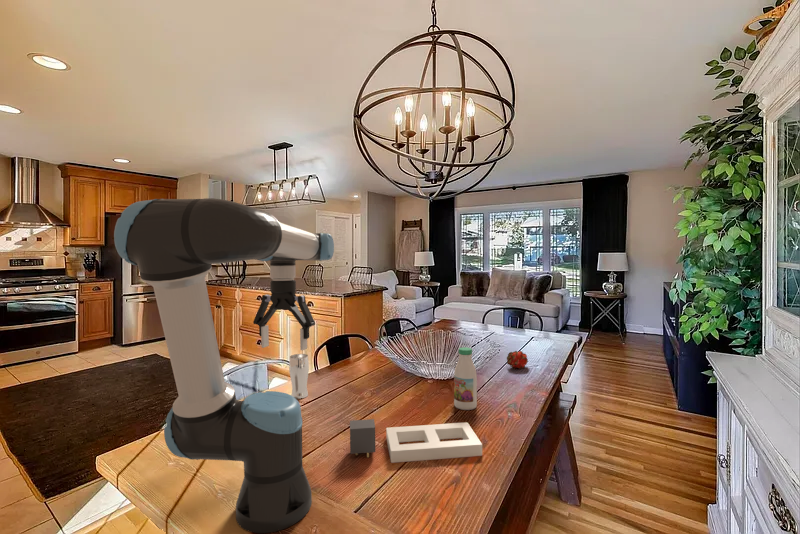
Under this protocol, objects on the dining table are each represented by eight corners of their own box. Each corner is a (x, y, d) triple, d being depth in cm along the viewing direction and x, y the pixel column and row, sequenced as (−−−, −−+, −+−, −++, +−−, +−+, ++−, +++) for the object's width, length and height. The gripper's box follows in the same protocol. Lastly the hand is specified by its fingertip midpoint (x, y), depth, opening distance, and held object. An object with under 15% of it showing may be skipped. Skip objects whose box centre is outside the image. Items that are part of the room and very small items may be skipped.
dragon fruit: (505, 373, 172) (524, 372, 178) (518, 365, 166) (537, 365, 172) (499, 355, 177) (517, 355, 183) (511, 347, 171) (530, 347, 177)
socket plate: (482, 455, 101) (482, 444, 101) (391, 462, 98) (390, 451, 98) (467, 432, 114) (467, 422, 114) (386, 437, 111) (386, 427, 111)
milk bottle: (461, 399, 138) (461, 344, 137) (480, 405, 133) (480, 348, 132) (449, 406, 132) (449, 349, 131) (469, 412, 127) (469, 352, 126)
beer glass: (311, 392, 146) (311, 353, 146) (305, 399, 139) (304, 358, 139) (294, 392, 147) (293, 353, 146) (287, 399, 140) (286, 358, 139)
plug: (375, 457, 100) (375, 427, 100) (350, 459, 100) (349, 429, 99) (374, 447, 105) (374, 419, 105) (350, 449, 105) (350, 420, 104)
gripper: (325, 279, 119) (326, 347, 119) (256, 278, 126) (257, 343, 126) (313, 280, 112) (314, 353, 112) (240, 279, 119) (241, 348, 119)
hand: (284, 348), depth 119 cm, fingers open, 13 cm apart
